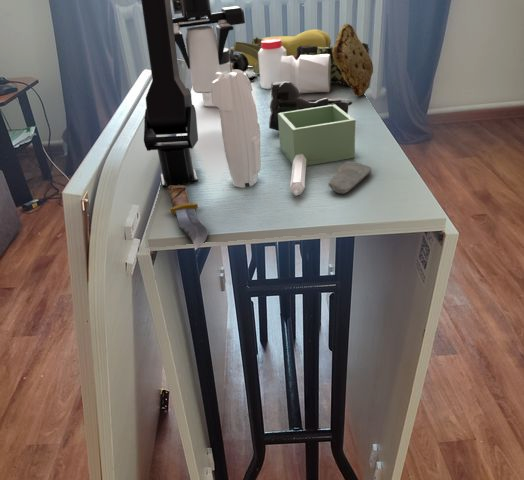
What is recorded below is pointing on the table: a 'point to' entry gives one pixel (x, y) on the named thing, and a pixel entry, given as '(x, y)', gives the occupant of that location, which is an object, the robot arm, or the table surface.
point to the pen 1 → (253, 78)
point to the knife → (187, 215)
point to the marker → (298, 175)
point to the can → (202, 57)
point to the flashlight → (238, 125)
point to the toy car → (335, 72)
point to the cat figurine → (293, 102)
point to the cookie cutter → (250, 50)
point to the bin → (317, 134)
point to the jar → (223, 67)
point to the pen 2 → (331, 100)
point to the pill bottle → (270, 61)
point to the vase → (307, 72)
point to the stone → (348, 176)
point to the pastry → (352, 60)
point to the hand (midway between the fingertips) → (204, 66)
